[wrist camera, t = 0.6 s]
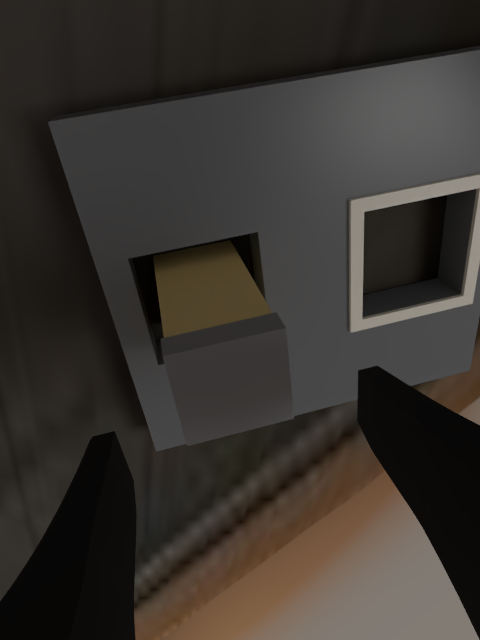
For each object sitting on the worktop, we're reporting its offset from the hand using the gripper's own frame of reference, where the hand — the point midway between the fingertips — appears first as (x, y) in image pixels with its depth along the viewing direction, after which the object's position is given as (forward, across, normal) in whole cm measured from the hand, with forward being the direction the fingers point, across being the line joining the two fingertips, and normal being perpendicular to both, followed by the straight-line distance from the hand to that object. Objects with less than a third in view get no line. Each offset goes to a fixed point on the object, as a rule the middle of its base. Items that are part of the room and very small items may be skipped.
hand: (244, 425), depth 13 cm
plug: (+10, 0, 0) cm, 10 cm away
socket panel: (+10, -5, 0) cm, 11 cm away
